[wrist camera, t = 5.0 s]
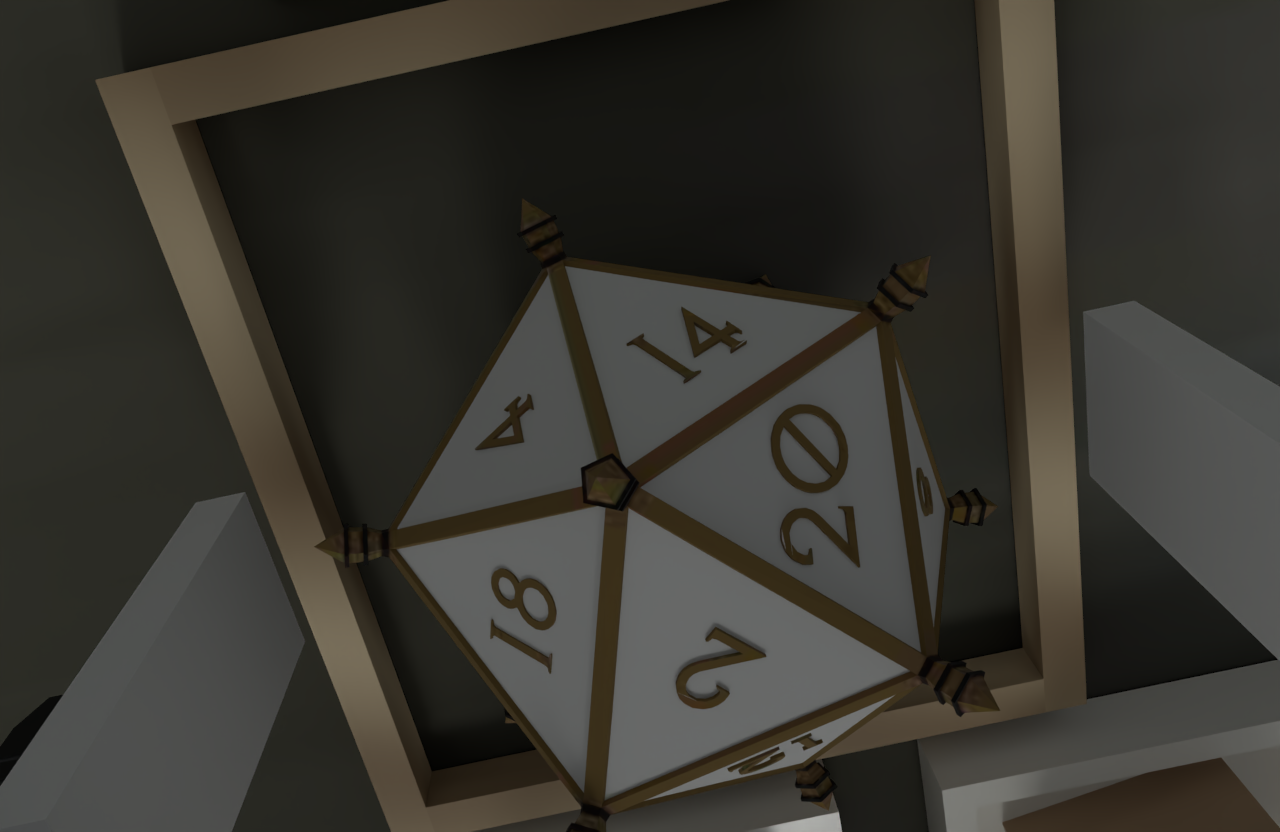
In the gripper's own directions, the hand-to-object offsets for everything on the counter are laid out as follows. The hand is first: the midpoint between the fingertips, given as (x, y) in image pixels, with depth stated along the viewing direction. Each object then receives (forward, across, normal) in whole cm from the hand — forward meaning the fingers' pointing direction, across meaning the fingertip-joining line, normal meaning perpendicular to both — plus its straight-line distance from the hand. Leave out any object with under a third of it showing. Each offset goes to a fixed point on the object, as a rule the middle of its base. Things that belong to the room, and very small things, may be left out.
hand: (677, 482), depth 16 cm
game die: (+3, 0, 0) cm, 3 cm away
